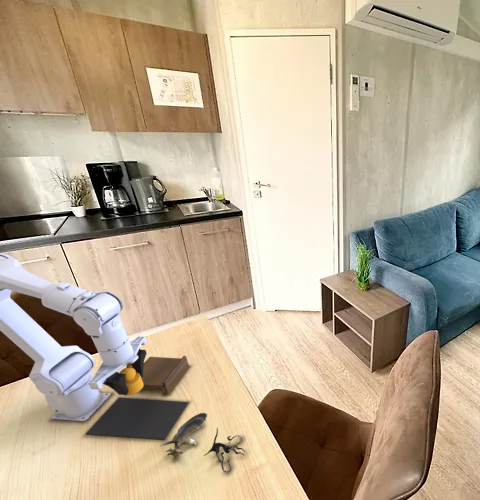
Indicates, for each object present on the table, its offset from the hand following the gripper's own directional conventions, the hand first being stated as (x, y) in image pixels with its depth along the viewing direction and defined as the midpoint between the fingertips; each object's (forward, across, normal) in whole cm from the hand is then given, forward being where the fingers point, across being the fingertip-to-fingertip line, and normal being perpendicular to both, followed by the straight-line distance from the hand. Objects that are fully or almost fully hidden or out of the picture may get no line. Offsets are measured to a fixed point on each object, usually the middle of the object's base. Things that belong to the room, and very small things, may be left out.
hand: (131, 385), depth 71 cm
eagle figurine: (+10, -6, -16) cm, 20 cm away
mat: (+10, -1, 0) cm, 10 cm away
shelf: (+10, +11, +3) cm, 15 cm away
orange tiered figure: (+1, 0, 0) cm, 1 cm away
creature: (+10, -9, -27) cm, 30 cm away
